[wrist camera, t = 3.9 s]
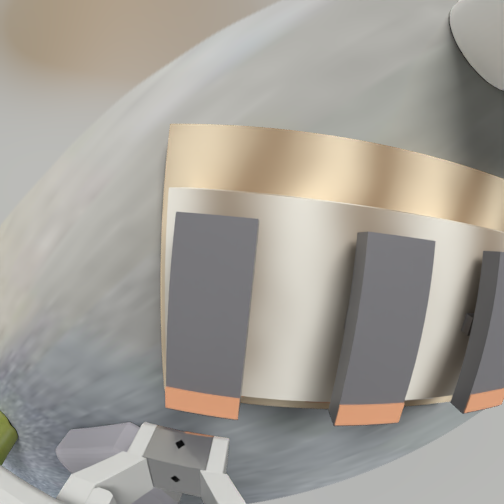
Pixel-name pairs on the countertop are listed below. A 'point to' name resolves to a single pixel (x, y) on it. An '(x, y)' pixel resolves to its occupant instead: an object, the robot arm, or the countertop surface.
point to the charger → (106, 454)
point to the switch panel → (324, 180)
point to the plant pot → (6, 437)
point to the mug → (481, 36)
